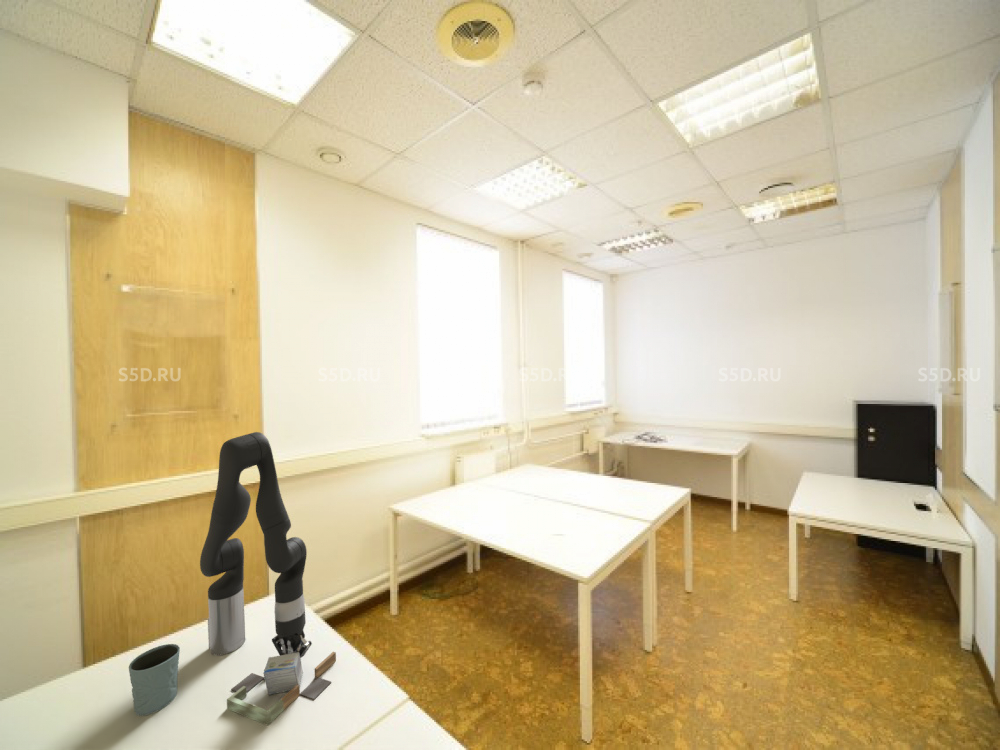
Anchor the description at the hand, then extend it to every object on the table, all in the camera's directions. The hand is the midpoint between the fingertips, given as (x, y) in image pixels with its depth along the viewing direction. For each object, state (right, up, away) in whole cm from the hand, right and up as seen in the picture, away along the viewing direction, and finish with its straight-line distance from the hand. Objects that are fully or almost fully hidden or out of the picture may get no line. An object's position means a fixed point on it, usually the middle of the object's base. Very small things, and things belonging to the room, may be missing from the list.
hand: (293, 672), depth 111 cm
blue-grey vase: (-33, -3, -7) cm, 34 cm away
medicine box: (0, -1, -3) cm, 3 cm away
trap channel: (-1, -1, -2) cm, 3 cm away
